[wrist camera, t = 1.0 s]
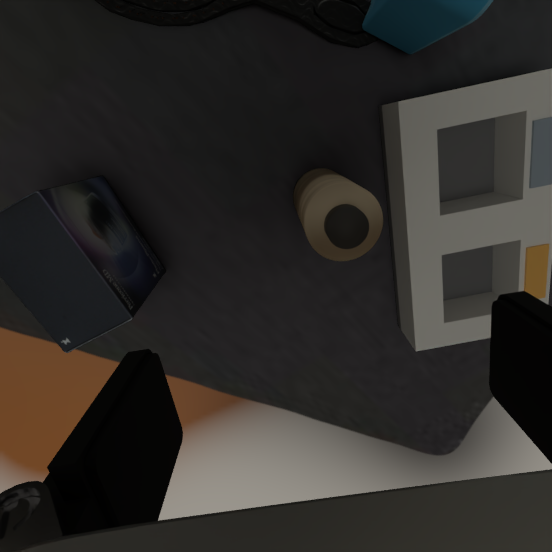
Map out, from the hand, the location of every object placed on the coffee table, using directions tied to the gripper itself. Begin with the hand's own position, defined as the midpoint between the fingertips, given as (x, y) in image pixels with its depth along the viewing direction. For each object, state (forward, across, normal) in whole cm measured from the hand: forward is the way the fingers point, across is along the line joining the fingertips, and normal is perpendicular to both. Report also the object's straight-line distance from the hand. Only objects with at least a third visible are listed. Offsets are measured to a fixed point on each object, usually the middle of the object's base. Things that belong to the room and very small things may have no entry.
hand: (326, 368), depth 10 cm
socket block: (+26, -15, +3) cm, 30 cm away
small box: (+26, +17, 0) cm, 31 cm away
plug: (+26, -3, -1) cm, 26 cm away
